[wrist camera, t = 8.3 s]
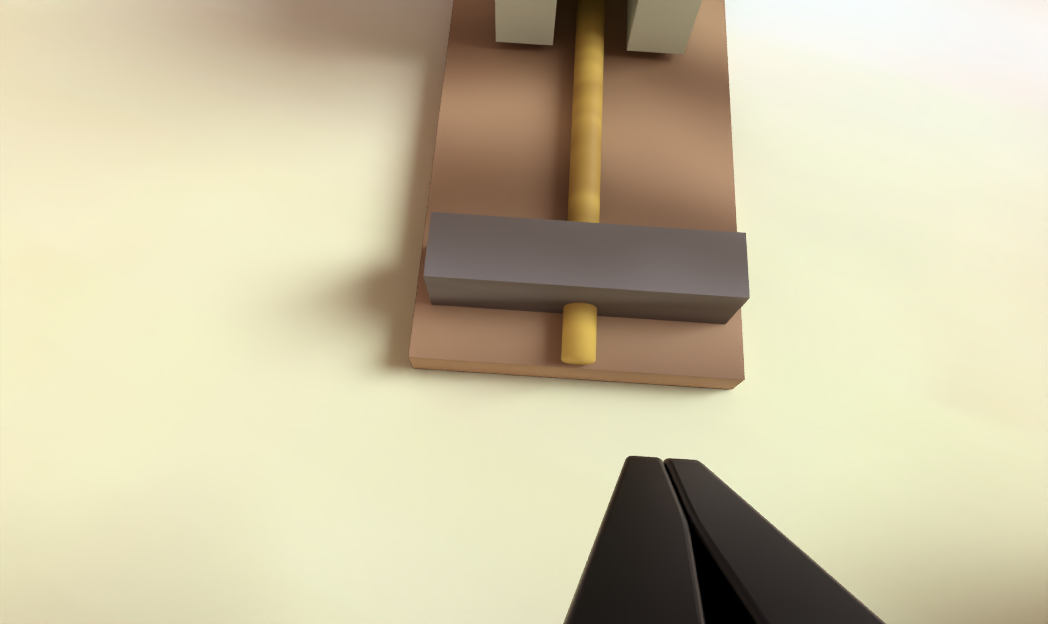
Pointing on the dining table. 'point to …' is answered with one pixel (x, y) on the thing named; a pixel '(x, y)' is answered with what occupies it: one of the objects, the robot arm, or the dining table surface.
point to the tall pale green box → (652, 23)
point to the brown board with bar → (583, 206)
